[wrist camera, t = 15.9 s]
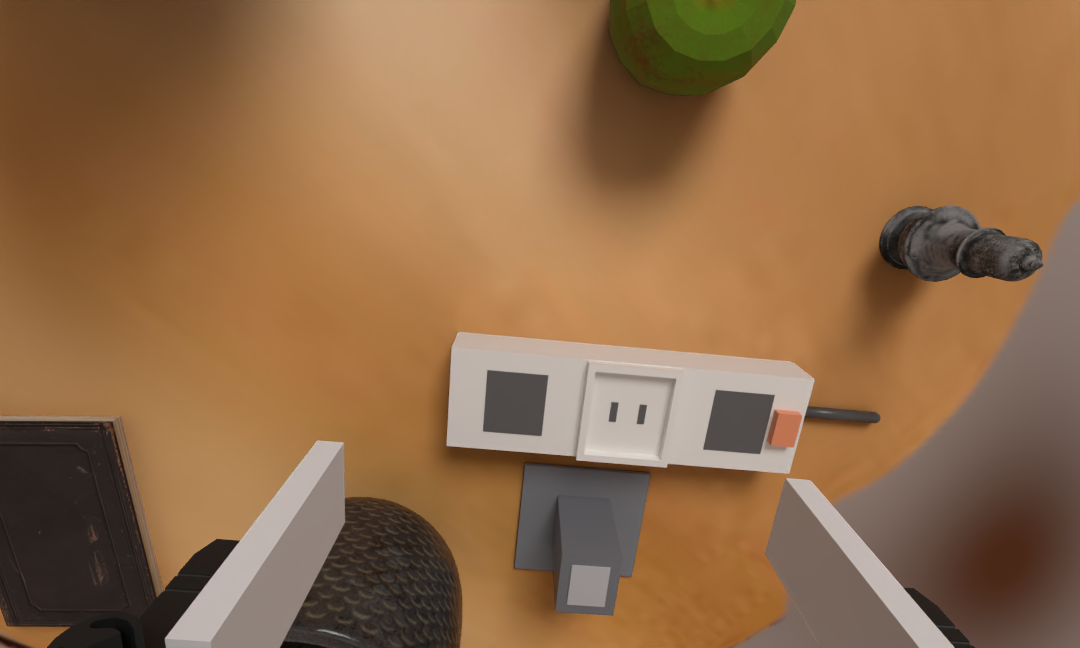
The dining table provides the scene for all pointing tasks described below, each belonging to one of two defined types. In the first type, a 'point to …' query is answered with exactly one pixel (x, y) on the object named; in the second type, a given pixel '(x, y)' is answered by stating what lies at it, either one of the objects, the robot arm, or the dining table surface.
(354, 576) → the planter
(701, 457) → the strip
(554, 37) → the dining table surface
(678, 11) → the apple
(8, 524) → the hardcover book
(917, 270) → the grey chess piece
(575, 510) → the charger
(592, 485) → the mat
